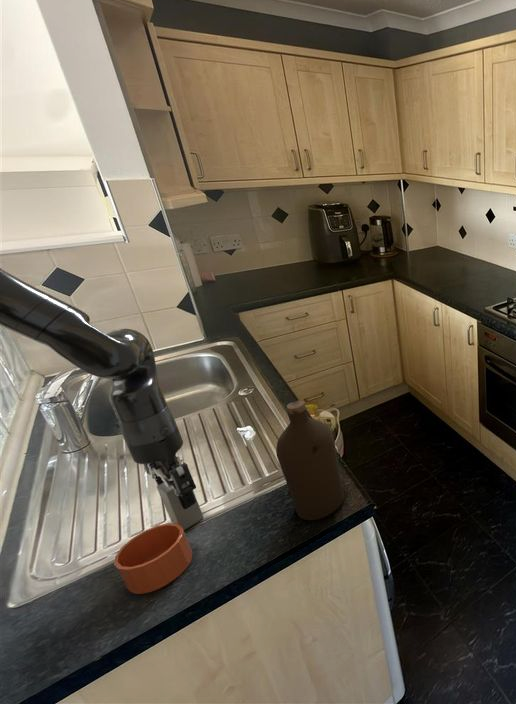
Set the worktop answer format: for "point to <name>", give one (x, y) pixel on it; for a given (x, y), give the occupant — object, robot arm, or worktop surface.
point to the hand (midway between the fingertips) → (178, 498)
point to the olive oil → (309, 464)
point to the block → (179, 507)
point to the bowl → (153, 558)
